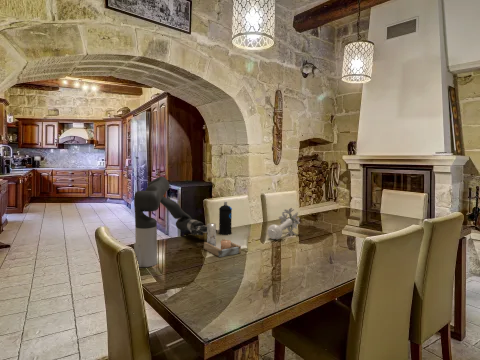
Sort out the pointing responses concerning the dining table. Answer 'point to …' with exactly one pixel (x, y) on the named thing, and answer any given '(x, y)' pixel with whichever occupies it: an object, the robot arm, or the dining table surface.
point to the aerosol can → (225, 219)
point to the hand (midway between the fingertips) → (209, 232)
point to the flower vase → (284, 225)
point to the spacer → (225, 244)
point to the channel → (225, 252)
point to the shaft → (211, 233)
